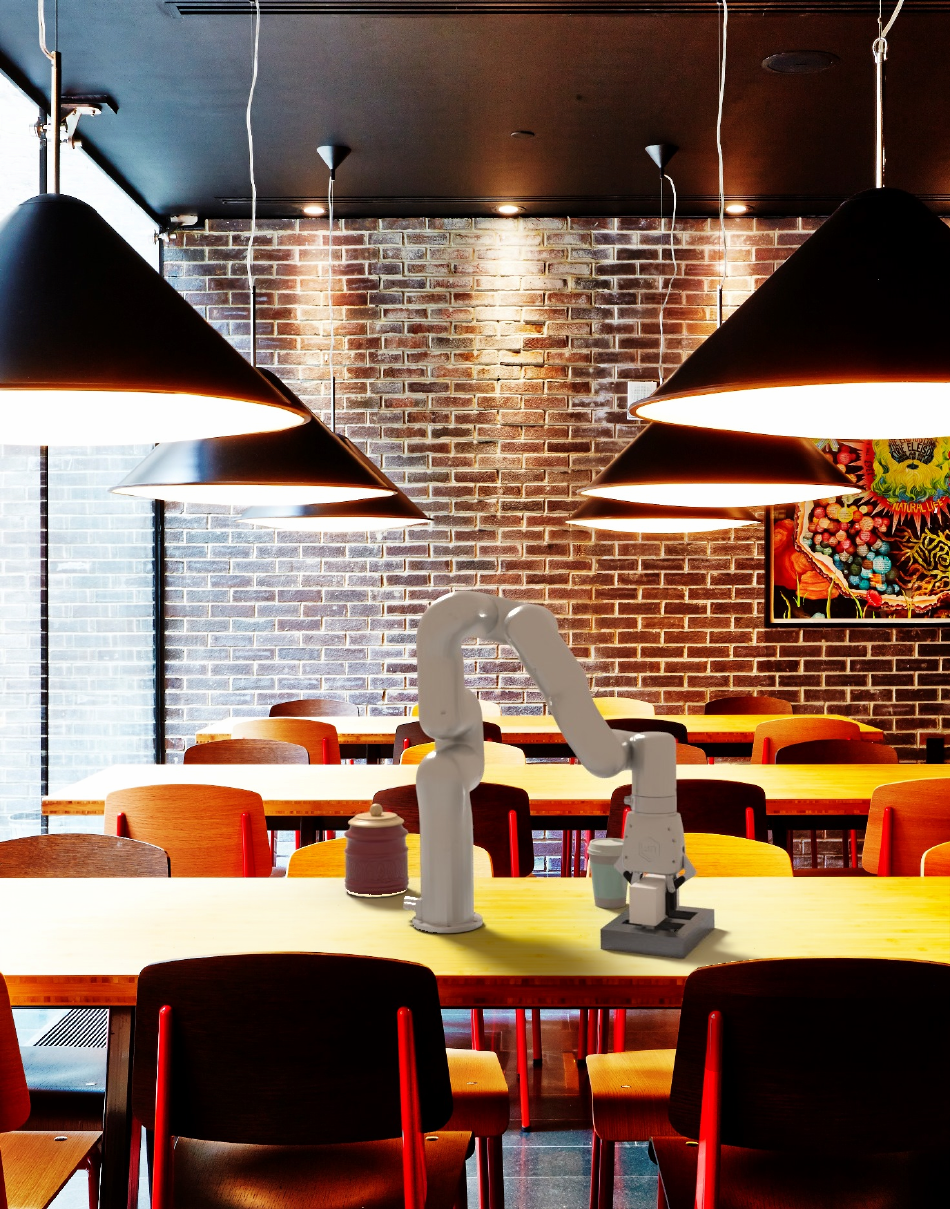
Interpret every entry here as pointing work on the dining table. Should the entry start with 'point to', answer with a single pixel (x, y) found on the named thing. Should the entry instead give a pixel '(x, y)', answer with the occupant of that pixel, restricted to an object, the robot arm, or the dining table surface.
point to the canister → (376, 853)
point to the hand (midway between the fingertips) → (655, 911)
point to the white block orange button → (649, 901)
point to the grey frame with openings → (659, 933)
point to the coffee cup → (607, 873)
